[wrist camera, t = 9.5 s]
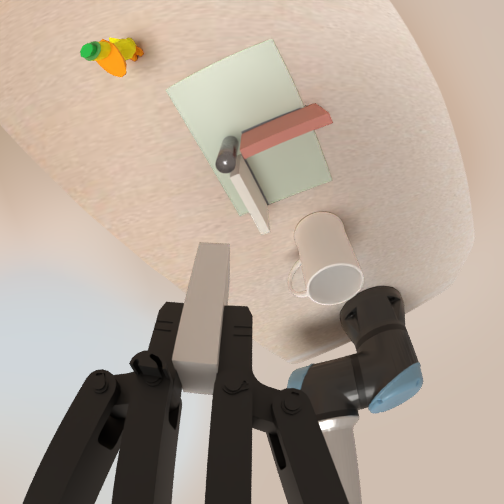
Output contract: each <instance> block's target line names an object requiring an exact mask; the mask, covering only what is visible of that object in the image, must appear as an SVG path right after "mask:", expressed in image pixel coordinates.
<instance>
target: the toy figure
mask: <svg viewBox="0 0 504 504" xmlns="http://www.w3.org/2000/svg"><path fill="white" fill-rule="evenodd" d="M109 40H110V42H109V41H107V40H104V39H102V40H101V41H100V42H96V41H94V42H91V43H87V44H85V45H84V46H83V47H82V49H81V51H80V53H81V57H84V58H85V59H86V60H88V61H97V63H98V64H99V65H100V66H101V67H102V68H103V69H104V70H106V71H107V72H108V73H110V74H112V75H114V76H118V77H123V76H124V75H126V62H125V61H126V60H128V59H131V60H133V61H136V60H137V59H138V58H137V55H139V56H142V55H143V54H144V53H143V50H142V49H141V48H139V47H138V46H136V44H135V42H134V40H133V39H132V38H127V39H115V38H109Z"/></svg>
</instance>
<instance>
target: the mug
mask: <svg viewBox="0 0 504 504" xmlns="http://www.w3.org/2000/svg"><path fill="white" fill-rule="evenodd" d="M294 239H295V243H296V245H297V246H298V251H299V256H300V259H299V260H298V261H297V262H296V263H295V265H294V266H293V268H292V269H291V271H290V274H289V277H288V288H289V290H290V292H291V293H292V294H293V295H295V296H297V297H308V296H309V298H310V299H311V300H312V301H314V302H316V303H318V304H322V305H335V304H340V303H343V302H345V301H347V300H349V299H351V298H352V297H354V296H355V295H356V294H357V293H358V292H359V291H360V289H361V288H362V286H363V282H364V276H363V273H362V270H361V268H360V265H359V263H358V260H357V258H356V256H355V253H354V251H353V249H352V246H351V244H350V242H349V239H348V237H347V235H346V233H345V229H344V225H343V223H342V221H341V220H340V218H338V217H337V216H336V215H334V214H332V213H328V212H317V213H313V214H310V215H308V216H306V217H305V218H304V219H302V220H301V221H300V222H299V224H298V225H297V227H296V229H295V233H294ZM301 265H302V270H303V276H304V281H305V286H306V290H305V291H302V292H296V291H294V290H293V288H292V279H293V276H294V274H295V272H296V271H297V269H298V268H299V267H300V266H301Z"/></svg>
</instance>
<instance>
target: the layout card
mask: <svg viewBox="0 0 504 504" xmlns="http://www.w3.org/2000/svg"><path fill="white" fill-rule="evenodd" d="M166 92H167V93H168V95H169V97H170V98H171V100H172V102H173V103H174V105H175V107H176V108H177V110H178V112H179V113H180V115H181V117H182V118H183V120H184V122H185V124H186V125H187V127H188V129H189V130H190V132H191V134H192V135H193V137H194V139H195V140H196V142H197V144H198V146H199V147H200V149H201V151H202V152H203V154H204V156H205V157H206V159H207V161H208V162H209V164H210V166H211V168H212V169H213V171H214V173H215V174H216V176H217V178H218V180H219V181H220V183H221V185H222V186H223V188H224V190H225V191H226V193H227V195H228V197H229V198H230V200H231V202H232V203H233V205H234V207H235V209H236V210H237V212H238V214H239V216H242V215H244V214H247V213H249V212H248V210H247V208H246V206H245V204H244V203H243V201H242V199H241V197H240V195H239V194H238V192H237V190H236V188H235V186H234V185H233V183H232V181H231V179H230V173H221V172H219V171H218V170H217V168H216V165H215V163H216V159H217V156H218V153H219V150H220V147H221V144H222V142H223V139H224V138H225V137H227V136H234V137H236V138H237V140H238V142H239V145H238V152H237V155H240V154H241V152H240V143H241V135H242V134H243V133H245V132H247V131H249V130H252V129H254V128H256V127H258V126H260V125H263V124H265V123H267V122H270V121H272V120H274V119H277V118H279V117H281V116H284V115H286V114H289V113H291V112H294V111H296V110H299V109H301V108H304V105H303V103H302V100H301V98H300V96H299V93H298V91H297V89H296V87H295V85H294V82H293V80H292V78H291V76H290V74H289V72H288V70H287V68H286V65H285V63H284V61H283V59H282V57H281V55H280V53H279V51H278V49H277V47H276V45H275V44H274V42H273V40H272V39H270V40H267V41H265V42H262V43H259V44H257V45H254V46H252V47H249V48H247V49H244V50H242V51H240V52H237V53H235V54H233V55H231V56H228V57H226V58H224V59H222V60H220V61H218V62H216V63H214V64H212V65H210V66H208V67H206V68H204V69H202V70H200V71H198V72H196V73H194V74H192V75H190V76H188V77H187V78H185V79H183V80H181V81H180V82H178V83H176V84H174V85H173V86H171V87H169V88H168V89H166ZM241 155H242V154H241ZM242 157H243V156H242ZM243 159H244V157H243ZM244 161H245V163H246V164H247V166H248V168H249V170H250V172H251V174H252V176H253V178H254V180H255V182H256V184H257V186H258V188H259V190H260V192H261V193H262V195H263V197H264V199H265V201H266V203H267V205H269V204H272V203H274V202H277V201H280V200H282V199H285V198H287V197H290V196H293V195H295V194H298V193H300V192H303V191H306V190H308V189H311V188H314V187H316V186H319V185H322V184H325V183H327V182H330V181H332V178H331V175H330V172H329V169H328V167H327V164H326V161H325V158H324V155H323V153H322V150H321V147H320V145H319V142H318V139H317V137H316V134H315V132H314V130H313V131H310V132H307V133H305V134H302V135H300V136H297V137H295V138H292V139H290V140H288V141H285V142H283V143H280V144H278V145H276V146H273V147H271V148H269V149H266V150H264V151H262V152H260V153H257V154H255V155H253V156H251V157H248V158H246V159H244Z"/></svg>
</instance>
